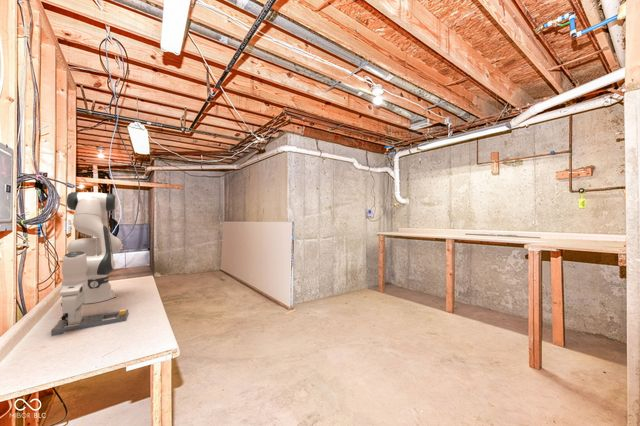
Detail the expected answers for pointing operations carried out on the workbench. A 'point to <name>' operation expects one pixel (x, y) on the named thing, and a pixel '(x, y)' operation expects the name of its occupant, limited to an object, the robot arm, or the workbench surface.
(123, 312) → the plate
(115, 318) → the panel
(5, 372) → the workbench surface
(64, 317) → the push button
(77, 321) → the plug
